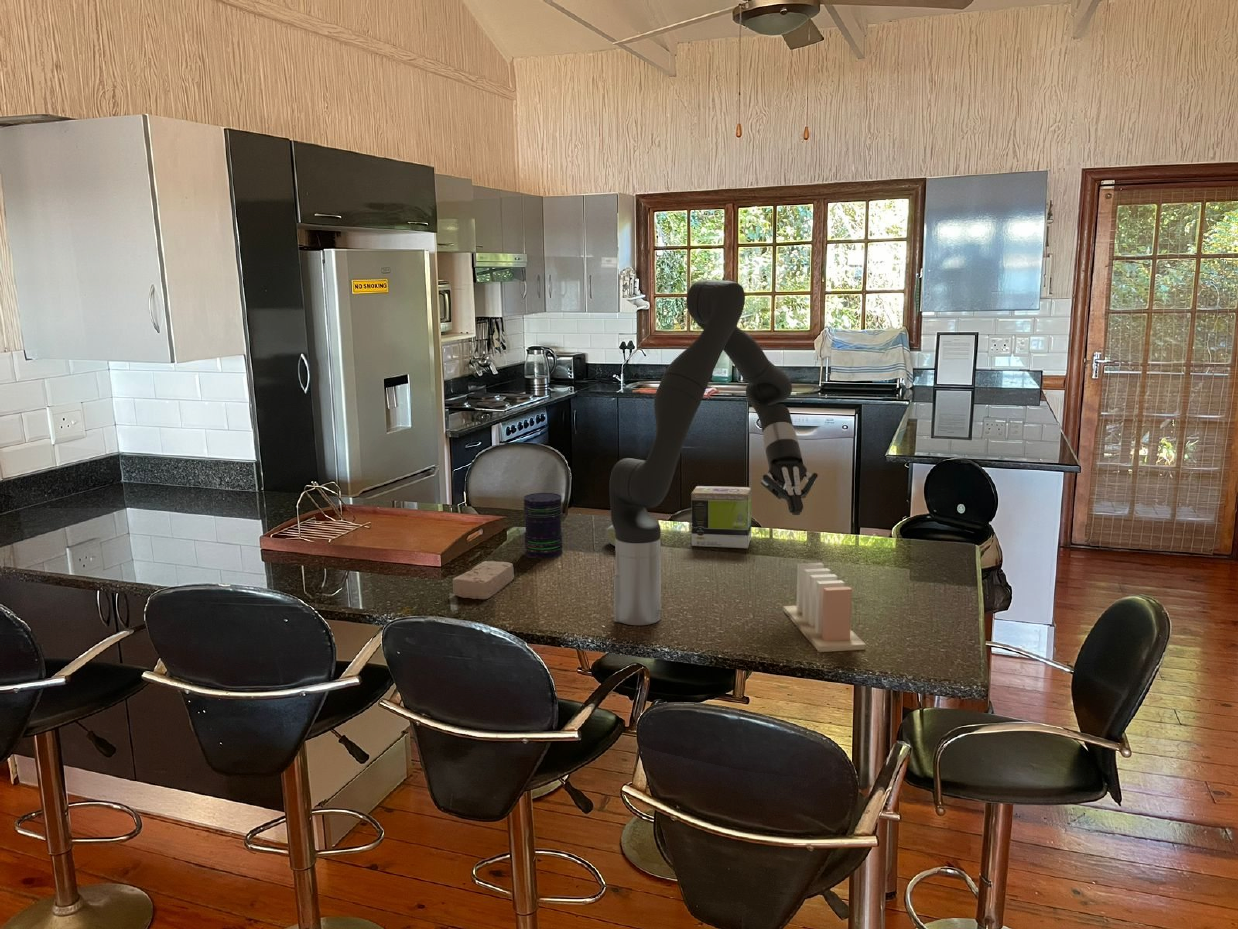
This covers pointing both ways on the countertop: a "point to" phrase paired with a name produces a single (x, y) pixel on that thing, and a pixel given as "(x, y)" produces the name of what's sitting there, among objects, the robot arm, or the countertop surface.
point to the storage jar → (543, 525)
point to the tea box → (721, 516)
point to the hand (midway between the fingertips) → (797, 513)
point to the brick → (483, 580)
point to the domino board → (816, 638)
